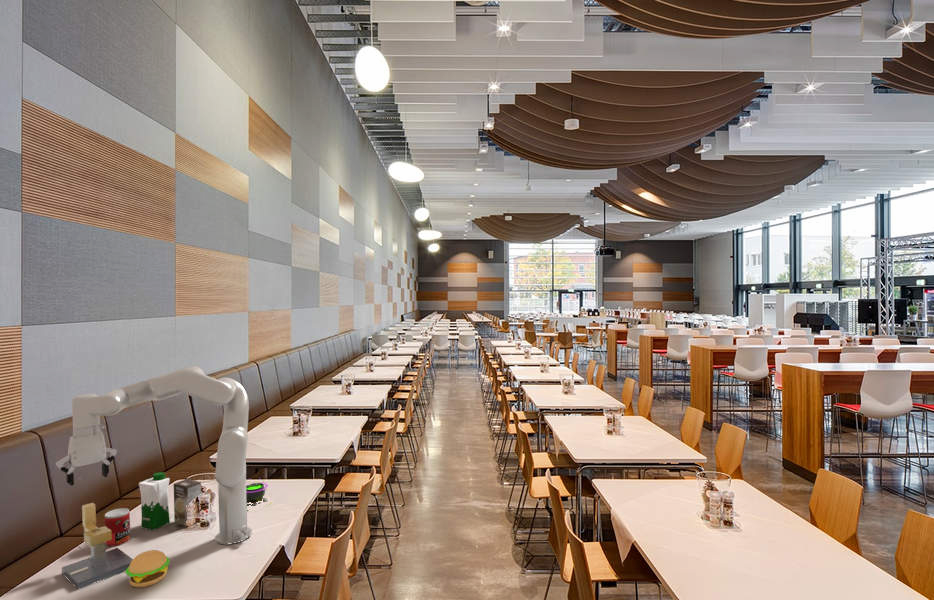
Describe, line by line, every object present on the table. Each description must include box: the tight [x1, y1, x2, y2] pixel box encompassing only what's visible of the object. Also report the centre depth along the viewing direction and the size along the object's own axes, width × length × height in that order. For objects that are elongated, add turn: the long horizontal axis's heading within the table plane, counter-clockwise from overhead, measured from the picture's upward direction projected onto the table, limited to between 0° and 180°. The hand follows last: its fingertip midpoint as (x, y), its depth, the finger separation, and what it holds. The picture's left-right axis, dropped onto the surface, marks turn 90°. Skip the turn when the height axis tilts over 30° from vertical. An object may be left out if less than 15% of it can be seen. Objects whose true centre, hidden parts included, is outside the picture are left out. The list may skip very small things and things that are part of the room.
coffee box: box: [173, 478, 202, 526], centre depth 206 cm, size 9×6×16 cm
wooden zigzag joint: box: [81, 502, 112, 548], centre depth 173 cm, size 12×6×10 cm, turn 53°
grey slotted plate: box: [61, 542, 134, 590], centre depth 171 cm, size 16×16×9 cm
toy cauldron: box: [246, 478, 269, 506], centre depth 224 cm, size 15×15×11 cm
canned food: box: [104, 507, 131, 547], centre depth 191 cm, size 8×8×11 cm
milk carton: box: [138, 471, 171, 531], centre depth 204 cm, size 9×9×20 cm
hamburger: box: [125, 549, 170, 588], centre depth 165 cm, size 12×12×9 cm
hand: (88, 480), depth 176 cm, fingers open, 9 cm apart
